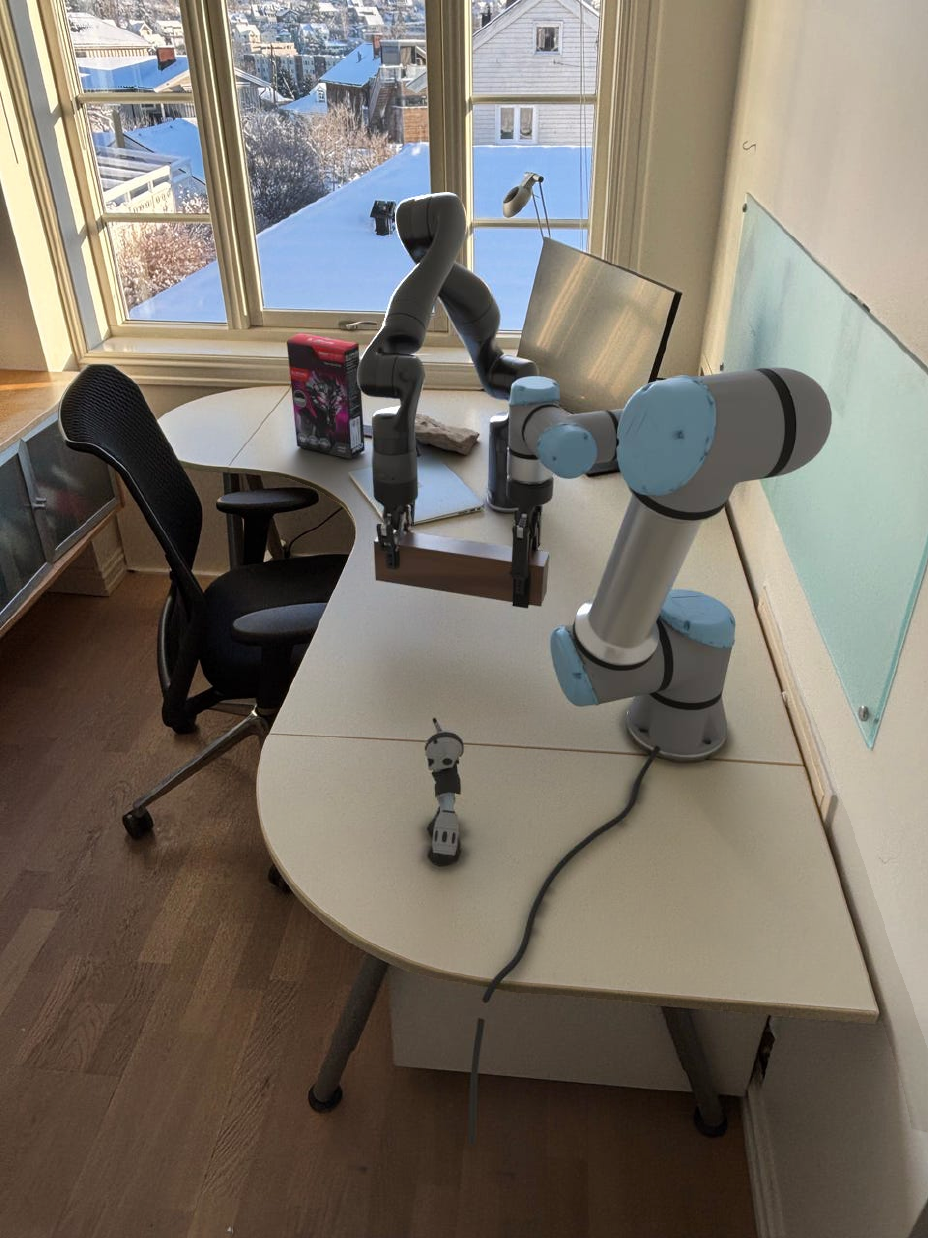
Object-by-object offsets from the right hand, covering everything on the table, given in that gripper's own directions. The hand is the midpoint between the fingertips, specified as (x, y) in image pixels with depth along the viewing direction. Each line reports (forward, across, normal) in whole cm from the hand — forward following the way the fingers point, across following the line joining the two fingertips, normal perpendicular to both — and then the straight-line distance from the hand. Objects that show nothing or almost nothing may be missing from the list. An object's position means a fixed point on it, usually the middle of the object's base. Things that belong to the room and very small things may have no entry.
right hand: (524, 597), depth 160 cm
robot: (+8, -51, 0) cm, 52 cm away
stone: (+8, +77, +40) cm, 87 cm away
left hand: (-4, 0, +23) cm, 23 cm away
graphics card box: (+8, +66, +64) cm, 92 cm away
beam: (0, 0, +12) cm, 12 cm away
